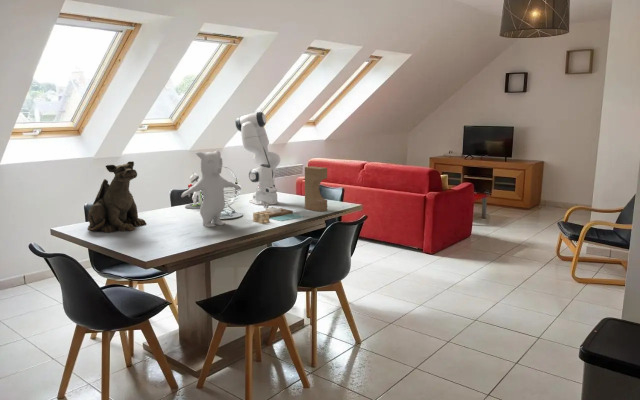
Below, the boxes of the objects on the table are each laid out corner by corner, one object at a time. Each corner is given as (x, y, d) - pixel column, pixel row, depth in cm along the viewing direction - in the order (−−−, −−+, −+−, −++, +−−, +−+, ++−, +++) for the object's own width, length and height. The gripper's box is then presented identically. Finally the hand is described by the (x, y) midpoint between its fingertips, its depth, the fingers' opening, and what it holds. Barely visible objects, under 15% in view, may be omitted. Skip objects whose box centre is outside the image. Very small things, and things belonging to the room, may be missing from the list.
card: (265, 211, 345) (265, 208, 345) (272, 209, 349) (272, 207, 349) (273, 213, 339) (273, 210, 338) (280, 211, 343) (280, 208, 342)
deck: (255, 215, 341) (255, 212, 340) (280, 210, 356) (280, 208, 355) (267, 218, 331) (267, 215, 331) (292, 213, 346) (292, 210, 346)
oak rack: (252, 221, 323) (252, 212, 322) (260, 219, 327) (260, 211, 326) (262, 223, 316) (261, 215, 315) (269, 222, 320) (269, 213, 319)
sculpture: (118, 237, 283) (113, 165, 276) (76, 229, 300) (70, 162, 293) (160, 226, 309) (156, 160, 302) (119, 220, 327) (115, 158, 320)
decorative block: (327, 210, 358) (327, 167, 353) (320, 211, 352) (320, 168, 347) (311, 207, 368) (311, 166, 363) (304, 209, 362) (304, 167, 357)
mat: (268, 218, 332) (268, 217, 332) (292, 214, 345) (292, 213, 345) (280, 221, 323) (280, 220, 323) (304, 216, 337) (304, 216, 337)
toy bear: (191, 233, 292) (188, 154, 284) (176, 228, 304) (172, 153, 296) (250, 221, 322) (248, 150, 314) (234, 217, 334) (232, 148, 326)
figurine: (195, 204, 381) (193, 170, 377) (213, 205, 374) (212, 172, 370) (180, 208, 366) (178, 173, 362) (199, 210, 359) (197, 174, 355)
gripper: (253, 187, 352) (253, 206, 354) (271, 190, 337) (271, 210, 339) (260, 186, 356) (260, 205, 358) (278, 189, 341) (279, 209, 344)
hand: (266, 208), depth 349 cm, fingers closed
